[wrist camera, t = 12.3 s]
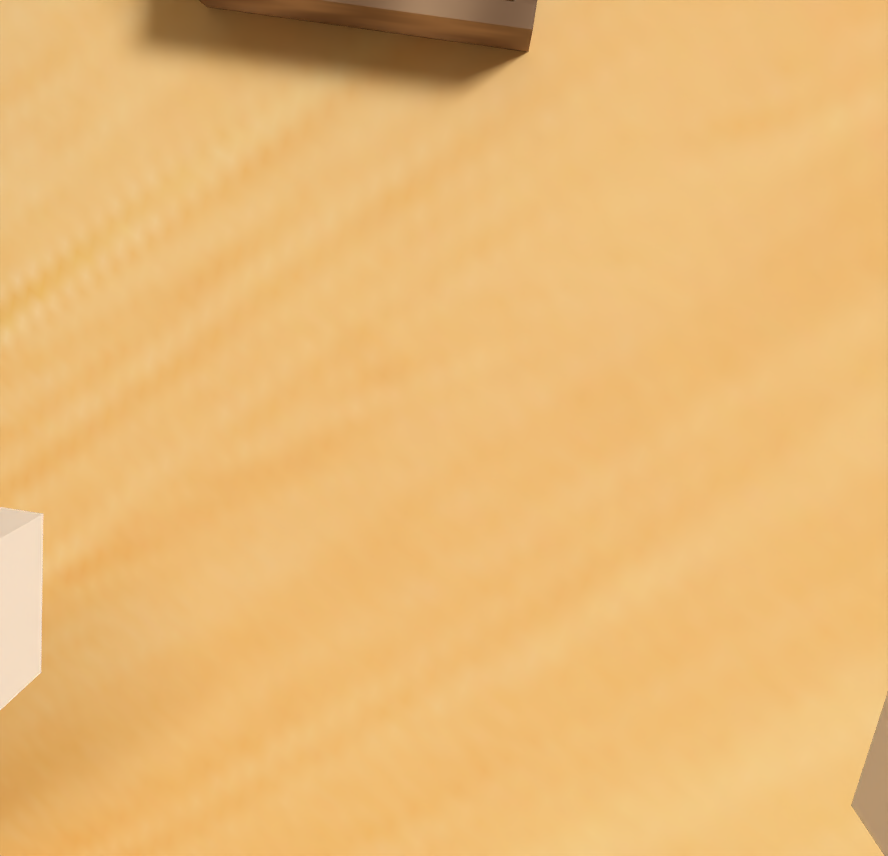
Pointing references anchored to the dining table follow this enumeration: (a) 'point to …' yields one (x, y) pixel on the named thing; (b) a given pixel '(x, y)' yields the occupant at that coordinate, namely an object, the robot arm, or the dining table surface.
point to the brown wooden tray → (411, 17)
